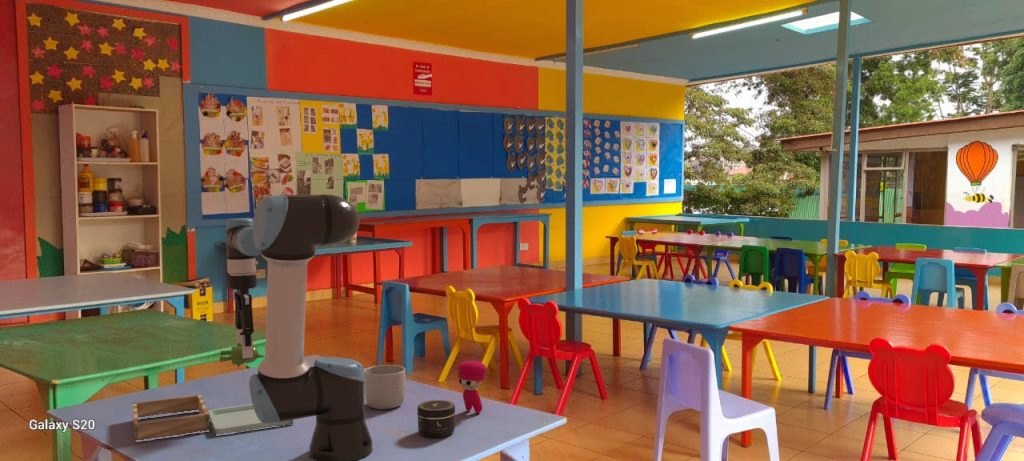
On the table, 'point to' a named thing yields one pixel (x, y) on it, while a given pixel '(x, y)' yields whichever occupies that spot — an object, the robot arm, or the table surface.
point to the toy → (471, 383)
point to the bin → (172, 424)
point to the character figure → (239, 355)
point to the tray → (238, 419)
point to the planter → (384, 386)
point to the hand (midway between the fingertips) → (245, 354)
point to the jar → (436, 418)
